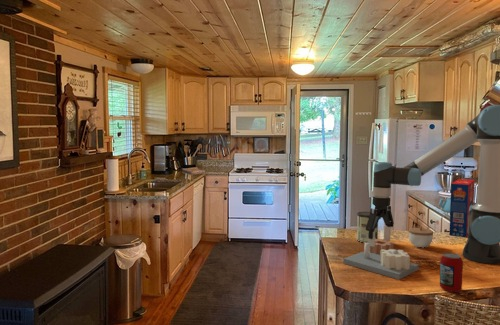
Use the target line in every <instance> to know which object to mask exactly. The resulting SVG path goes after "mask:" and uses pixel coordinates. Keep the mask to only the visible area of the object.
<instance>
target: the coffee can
mask: <svg viewBox="0 0 500 325" xmlns="http://www.w3.org/2000/svg"><path fill="white" fill-rule="evenodd" d="M369 215H370V211H359V212H357V213H356V216H357V218H356V219H357V220H356V241H357V240H358V241H360V242H359V243H361V242H364V243H363V244H365V243H367V242H368V235H369V231H366V225H367V222H368V219H369ZM374 232H375V239H379V222H378V223H377V226H376V228H375V230H374ZM358 241H357V242H358Z"/></svg>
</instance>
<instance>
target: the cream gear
mask: <svg viewBox="0 0 500 325" xmlns="http://www.w3.org/2000/svg"><path fill="white" fill-rule="evenodd" d="M392 250H393V249H389V250H384V249H382V250H380V262H381V265H382V266H385V268H387V269H391V268H395V269H396V270H401V269H409V263H411V262H410V261H411V259H410V258H411V257H410V255H409V254H408V252H405V251H404V249H397V250H398V254H392Z"/></svg>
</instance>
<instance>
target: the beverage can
mask: <svg viewBox="0 0 500 325" xmlns="http://www.w3.org/2000/svg"><path fill="white" fill-rule="evenodd" d="M461 256H462V255H460V254H458V253H454V252H443V253H442V255H441V257H440V265H439V267H440V268H439V269H440V270H439V287H441V288H442V290H445V291H447V292H449V293H457V292H460V291H462V288H463V268H464V267H463V265H464V263H463V259H462V257H461Z"/></svg>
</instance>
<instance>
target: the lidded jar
mask: <svg viewBox="0 0 500 325" xmlns="http://www.w3.org/2000/svg"><path fill="white" fill-rule="evenodd" d="M408 238H409V241H410V243H411V244H412V245H414V246H416V247H415V248H417V247H422V248H421V249H425V248H424V247H427V248H428V247H429V246H430V245H431V244H432V242H433V239H434V231H433V230H431V229H428V228H423V227H422V226H420V227H411V228H409V229H408ZM414 246H413V247H414Z"/></svg>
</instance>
